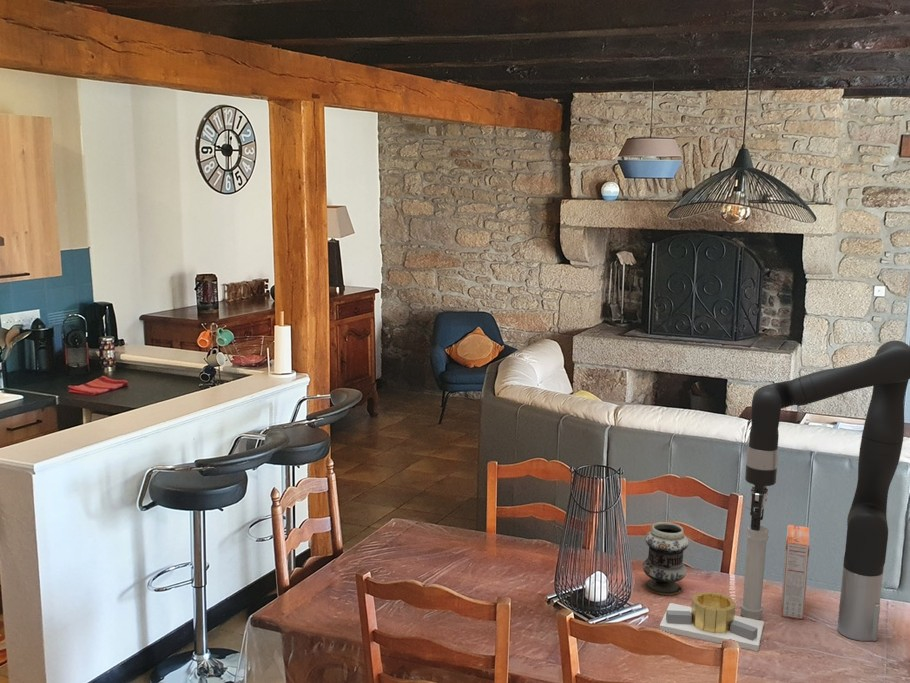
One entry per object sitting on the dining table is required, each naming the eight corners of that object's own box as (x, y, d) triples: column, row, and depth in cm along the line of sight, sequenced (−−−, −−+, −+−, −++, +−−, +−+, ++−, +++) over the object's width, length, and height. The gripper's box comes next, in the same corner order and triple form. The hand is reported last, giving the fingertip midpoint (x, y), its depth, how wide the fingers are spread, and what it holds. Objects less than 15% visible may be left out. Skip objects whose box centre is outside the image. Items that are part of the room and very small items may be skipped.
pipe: (763, 621, 239) (772, 511, 234) (738, 618, 241) (746, 509, 235) (760, 612, 245) (769, 504, 240) (736, 609, 246) (744, 502, 241)
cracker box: (781, 595, 255) (787, 523, 252) (804, 599, 253) (810, 526, 250) (779, 616, 242) (786, 541, 239) (804, 620, 240) (810, 545, 237)
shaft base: (763, 626, 237) (764, 612, 236) (758, 651, 224) (759, 636, 223) (669, 608, 246) (670, 594, 245) (659, 630, 233) (660, 616, 233)
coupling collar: (735, 618, 237) (737, 597, 236) (730, 636, 228) (732, 613, 227) (694, 610, 241) (696, 589, 240) (688, 627, 232) (689, 605, 231)
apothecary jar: (682, 600, 251) (686, 538, 248) (637, 592, 255) (641, 531, 252) (688, 583, 262) (692, 523, 259) (645, 576, 266) (649, 516, 263)
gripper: (774, 474, 228) (769, 536, 230) (779, 459, 241) (774, 518, 243) (743, 469, 231) (738, 531, 233) (749, 455, 243) (744, 513, 246)
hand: (756, 524), depth 238 cm, fingers open, 8 cm apart
